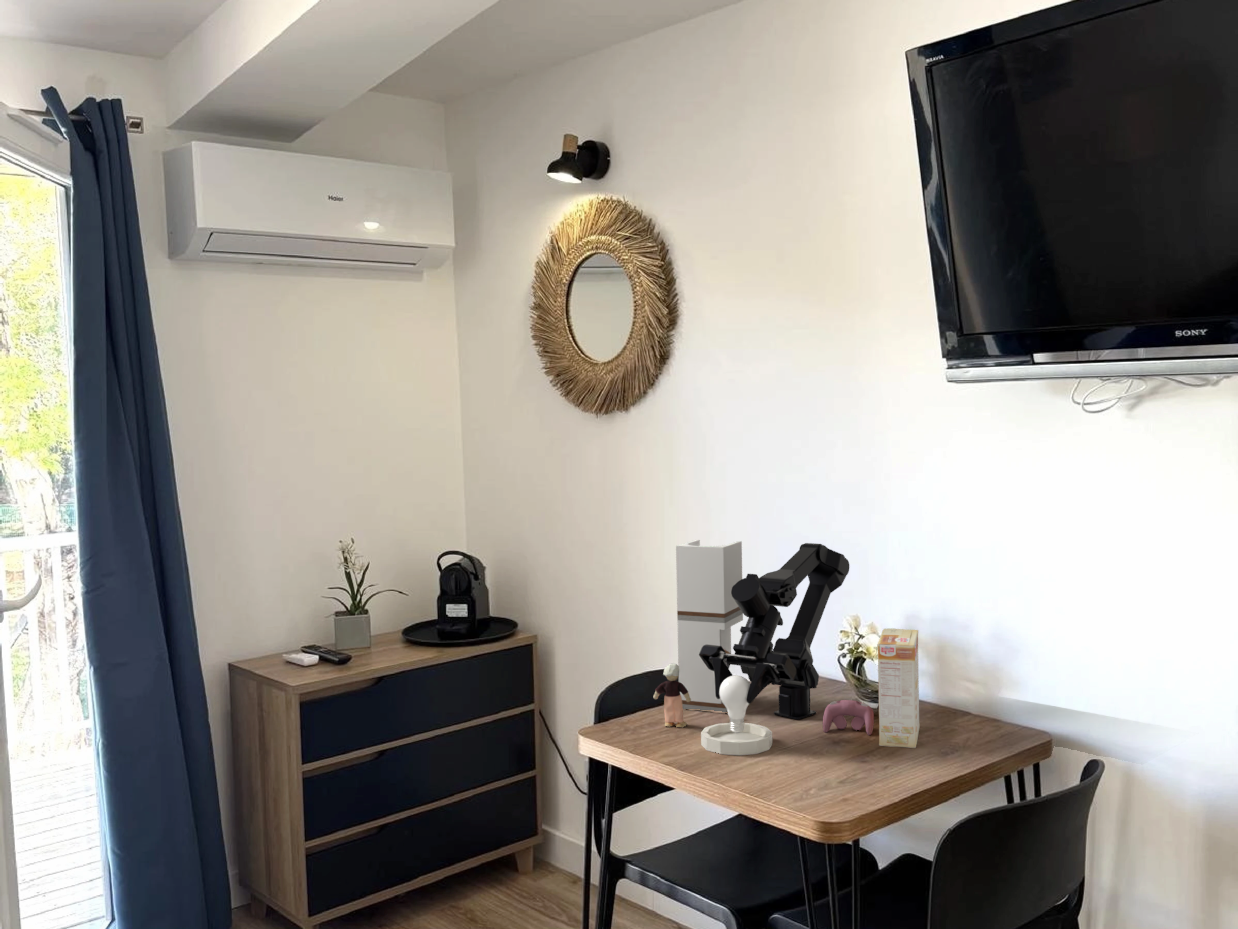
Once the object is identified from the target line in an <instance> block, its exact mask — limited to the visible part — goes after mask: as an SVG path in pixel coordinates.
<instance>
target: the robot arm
mask: <svg viewBox="0 0 1238 929" xmlns="http://www.w3.org/2000/svg"><path fill="white" fill-rule="evenodd" d="M849 572H850V562H849V560H848V559H847V558H846V556H845V555H844V554H842V553H840V552H838V551H835V550H833V549H830V548H828V547H827V546H826V545H824V544H823V543H812V542H805V543H802V544H801V545H800V546H799V550H798V551H797V552H796V553H795V554H793V555H792V556H791V557H790V559H788V560H787V561H786V562H785V563H784V564H783V565H782V566H781V567H780V568H779V569H777V570H774V571H770V572H767V573H765V574H763V575H762V576H760V577H759V575H758V574H755V573H747V574H746V576H745V578H742V579H741V580H740V581H738V582H737V583H736V584H735V585H734V586H733V587H732V590H731V594H732V597H733V598H734V600H735V602H736V603H737V605H738V606H739V608H740V609H741V611H742V613H743V616H745V617H746V618H747V621H746V624H745V626H740V629H739V632H740V633H741V636H740V639H739V642H738V643H733V646H732V650H733V651H734V654H733V653H731V654H726V652H725V651H724V649H723V648H722V646H716V645H708V644H706V645H704V646H703V647H702V648H701V650H700V653H699V656H700V657H701V659H702V660H703V662H704V663H705V665H706V666H707V667H708V669H710V670H712V671H714V675H715V694H716V698H717V699H720V695H719V689H720V685H721V683H722V682H723V681H724V680H725V679H726V678H727V677H730V676H733V674H732V672H731V670H730V668H731V665H732V666H740V669H741V673H742V674H745V675H747V676H748V681H749V682H750V688H749V691H748V695H747V702H748V704H749V705H750V704H751V703H752V702H754V700H755V699H756V698H757V697H758V696H759V695H760V694H761V692H762V691H764V689H765V688H766V687H767V686H769V685H771V686H772V685H773V686H778V691H779V692H778V710H775V711H773V715H775V716H776V715H777V716H780V717H785V718H789V719H794V720H801V719H804V718H805V719H806V718H807V717H810V716H813V715H817V711H816V710H812V709H811V689H816V688H817V686H818V684H819V677H820V675H819V673H818V671H817V670H816V667H815V665H814V664H813V663H814V658H813V655H812V650H811V646H812V643H813V640H814V638H815V635H816V633H817V629H818V627H819V625H820V622H821V619H822V616H823V615H824V611H825V609H826V606H827V604H828V600H829V598H830V596H831V594H832V593H833V592H834V591H835V590H837V589H838V588H840V587H841V586H842V585H843V583H844V581H845V580H846V577H847V576H848V575H849ZM807 577H808V581H809V582H808V583H809V584H808V587H807V589H806V591H805V593H804V596H803V598H802V601H801V604H800V607H799V609H798V612H797V614H796V616H795V620H794V622H793V625H792V626H791V628H790V632H789V634H788V637H785V638H780V637H778V638H777V639H776V641H775V643H774V644H773V642H772V641H773V638H774V635H775V633H776V631H777V630H776V629H777V627H778V626H781V627H782V626H783V625H784V622H783V621H784V620H783V618H782V616H781V612H780V611H779V609H778V608H777V607H782V608H784V607H785V608H788V607H789V606H791V605H792V603H793V602H794V600H795V599H796V598H797V596H798V591H797V588H798V587H799V585H800V584H801V583H802V582H803V581H804V580H805V579H806V578H807Z"/></svg>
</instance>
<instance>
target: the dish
mask: <svg viewBox="0 0 1238 929" xmlns="http://www.w3.org/2000/svg"><path fill="white" fill-rule="evenodd" d="M700 745H701V747H703V748H704V749H705V751H708V752H711V753H715V752H716V753H715V754H718V753H719V755H729V756H746V755H748V756H749V755H757V754H761V753H763V752H767V751H769V750H770V749H771V748H772V746H773V731H772V730H770V729H769V728H768V727H767V726H764V725H760V724H756V723H751V722H749V723H748V722H744V731H742V732H741V733H738V734H736V733H734V732H732V731H731V730H730V722H721V723H715V724H713V725H712V724H711V725H708V726H706V727H704V728H703V730H702V731H701V732H700Z"/></svg>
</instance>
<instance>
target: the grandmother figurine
mask: <svg viewBox="0 0 1238 929" xmlns="http://www.w3.org/2000/svg"><path fill="white" fill-rule="evenodd" d="M679 670H680V669H679V666H678V664H677V663H674V662H673V663H669V664H667V665H666V666H665V668H664V669H663V674H662V675H663V676H665V677H666V679H667V680H666V681H663V682H661V683H660V684H659V685H657V687H656V688H655V689H654V690H655V692H654V694H653V699H654V700H658V699H659V696H660V695H662V694H664V699H663V701H664V702H663V711H664V713H663V714H664V727H665V726H669V727H668V728H671V727H670V726H673V725H674V724H675V723H677V724H675V725H674V726H676V727H675V728H677V727H682V728H685V727H687V726H688V724H687V723H686V722H687V721H685V720H684V719H685V718H684V710H683V706H682V698H681V695H680V692H681V693H682V694H683V695H684V697H685V698H686V701H687V702H690V701H691V698H690V697H689V693H688V690H687V689H686V688H685V686H684V685H683V684H682V683H680V682H679V681H677V680H679ZM686 725H687V726H686ZM674 726H673V727H674ZM684 726H685V727H684Z"/></svg>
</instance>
